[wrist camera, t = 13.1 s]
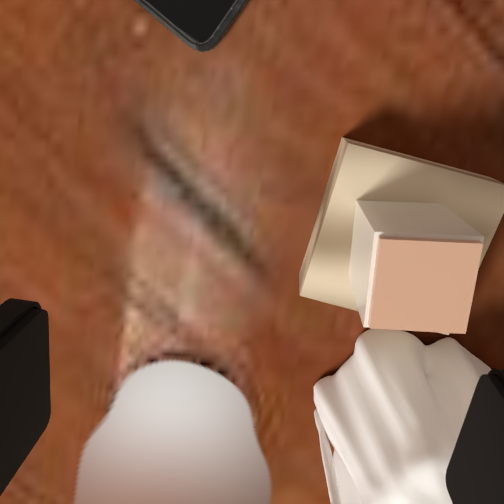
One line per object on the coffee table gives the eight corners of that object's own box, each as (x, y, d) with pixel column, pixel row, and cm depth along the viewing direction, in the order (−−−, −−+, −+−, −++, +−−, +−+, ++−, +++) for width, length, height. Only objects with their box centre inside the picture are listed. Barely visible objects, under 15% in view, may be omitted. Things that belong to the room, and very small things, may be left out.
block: (341, 136, 31) (348, 143, 27) (488, 176, 31) (515, 188, 28) (298, 273, 35) (299, 295, 31) (431, 308, 35) (448, 335, 31)
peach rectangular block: (356, 200, 28) (376, 234, 22) (441, 203, 28) (488, 239, 21) (348, 277, 30) (365, 331, 23) (429, 281, 30) (469, 337, 23)
